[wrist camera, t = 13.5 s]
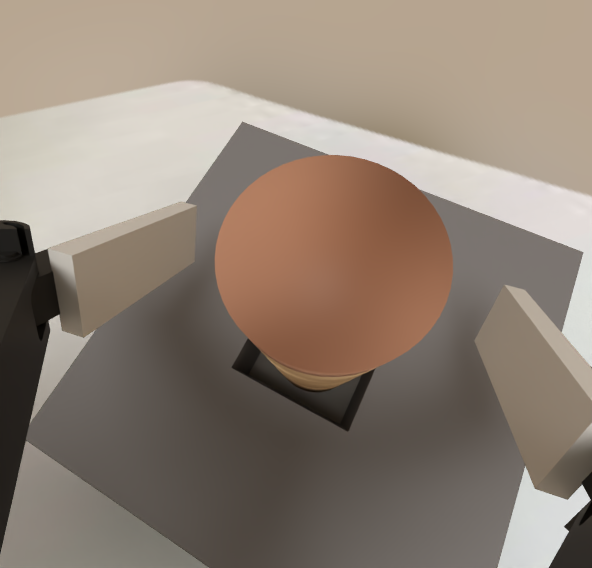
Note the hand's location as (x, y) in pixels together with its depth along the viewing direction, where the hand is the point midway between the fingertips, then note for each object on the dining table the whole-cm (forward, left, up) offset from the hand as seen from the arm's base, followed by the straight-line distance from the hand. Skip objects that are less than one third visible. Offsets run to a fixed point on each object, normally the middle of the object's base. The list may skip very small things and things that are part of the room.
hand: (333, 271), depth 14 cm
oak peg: (0, -2, -9) cm, 10 cm away
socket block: (0, -2, -10) cm, 10 cm away
